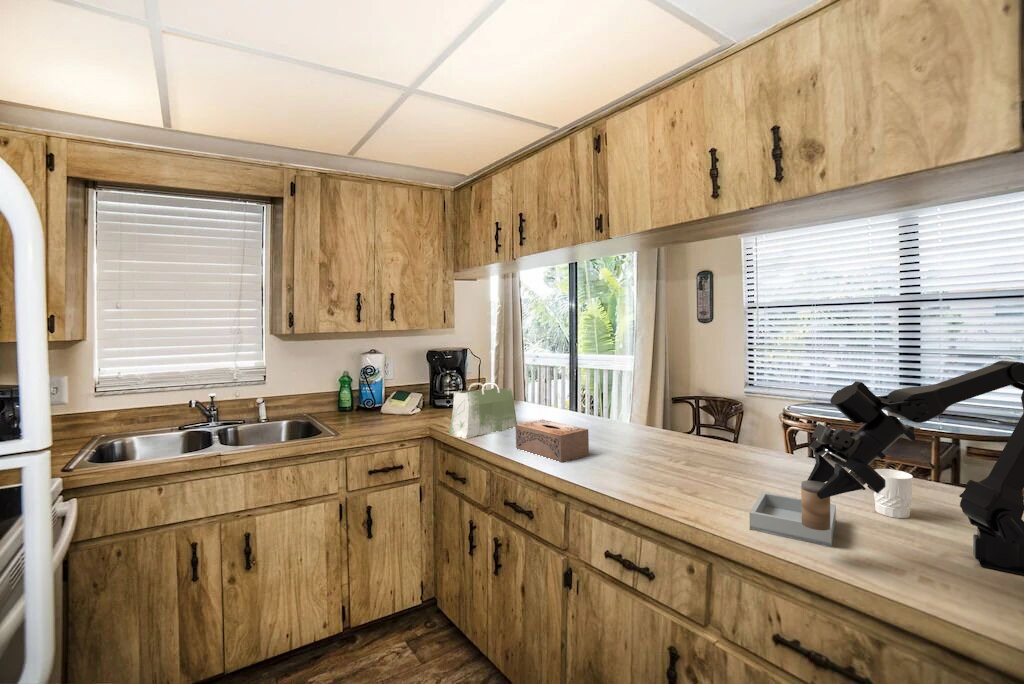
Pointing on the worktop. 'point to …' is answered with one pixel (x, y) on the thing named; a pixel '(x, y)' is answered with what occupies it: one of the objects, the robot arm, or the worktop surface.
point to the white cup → (894, 494)
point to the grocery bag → (482, 411)
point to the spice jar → (814, 506)
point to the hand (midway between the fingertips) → (812, 492)
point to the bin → (787, 519)
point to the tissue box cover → (552, 439)
